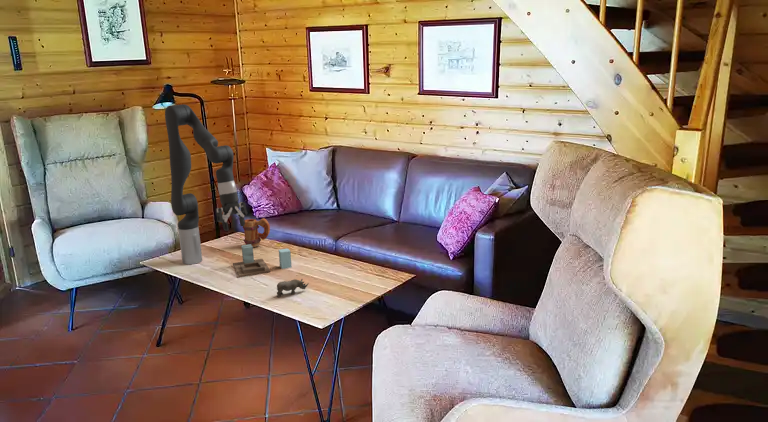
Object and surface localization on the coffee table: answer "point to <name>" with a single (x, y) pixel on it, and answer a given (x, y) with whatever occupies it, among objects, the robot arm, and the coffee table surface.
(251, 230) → the mug
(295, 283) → the rhino figurine
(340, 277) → the coffee table surface
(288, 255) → the teal block
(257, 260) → the walnut board
